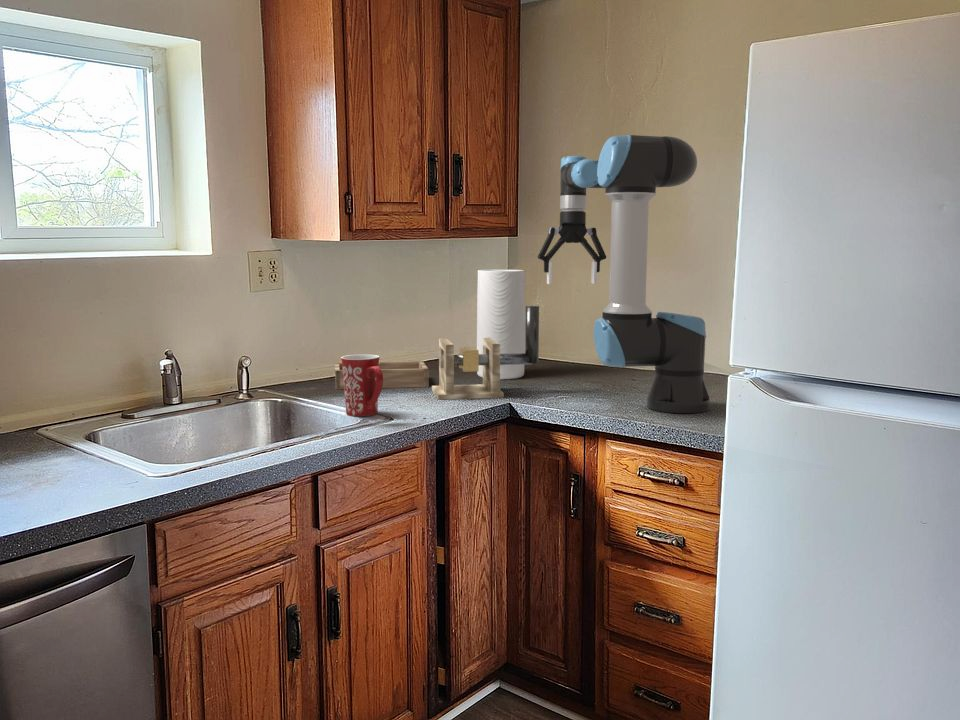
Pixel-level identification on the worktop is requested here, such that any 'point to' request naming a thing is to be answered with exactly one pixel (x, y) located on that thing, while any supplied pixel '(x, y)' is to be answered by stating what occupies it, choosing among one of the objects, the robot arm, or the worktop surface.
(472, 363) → the block
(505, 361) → the shaft
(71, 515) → the worktop surface
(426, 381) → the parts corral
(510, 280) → the paper towel roll
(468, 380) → the worktop surface
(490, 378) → the jig
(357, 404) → the mug
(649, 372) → the worktop surface
